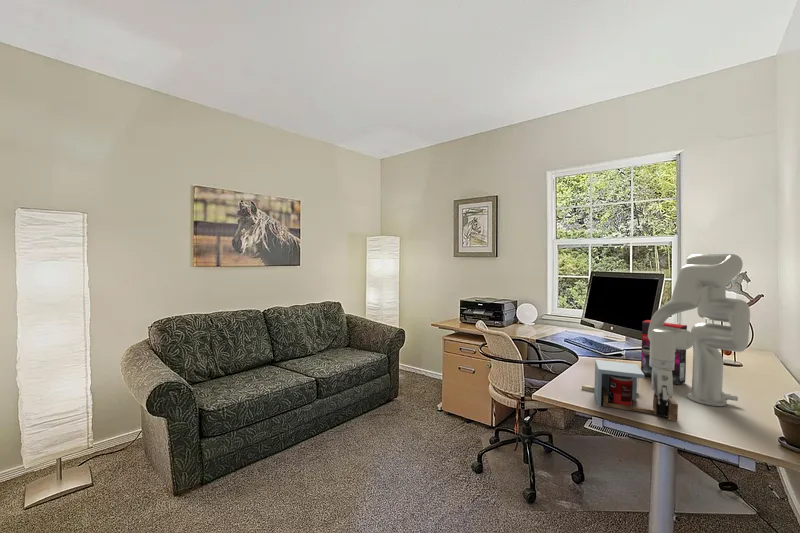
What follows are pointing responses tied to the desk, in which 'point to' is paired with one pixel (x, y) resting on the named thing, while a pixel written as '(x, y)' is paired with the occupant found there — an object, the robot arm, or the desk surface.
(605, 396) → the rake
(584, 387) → the dowel
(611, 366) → the cubby
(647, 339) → the graphics card box
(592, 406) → the desk surface
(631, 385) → the canned food
